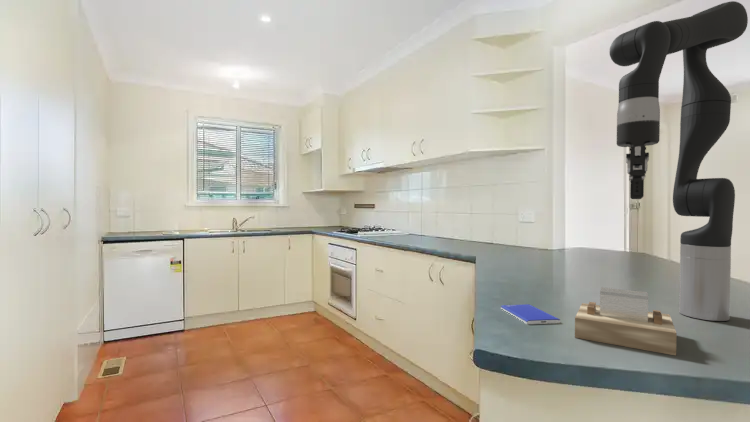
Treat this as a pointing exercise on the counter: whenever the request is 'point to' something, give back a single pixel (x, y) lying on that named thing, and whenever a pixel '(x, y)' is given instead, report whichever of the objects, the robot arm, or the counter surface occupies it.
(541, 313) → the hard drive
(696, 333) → the counter surface
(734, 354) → the counter surface
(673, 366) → the counter surface
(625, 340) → the drive stand
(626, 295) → the panel
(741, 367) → the counter surface
